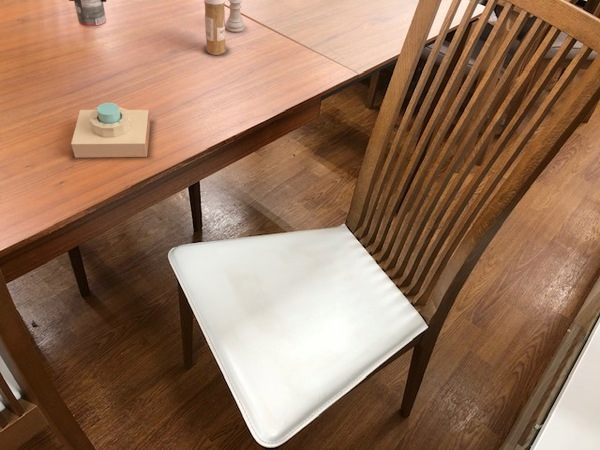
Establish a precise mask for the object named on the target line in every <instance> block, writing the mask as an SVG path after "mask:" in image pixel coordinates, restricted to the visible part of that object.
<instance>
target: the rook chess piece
mask: <svg viewBox="0 0 600 450" xmlns="http://www.w3.org/2000/svg"><path fill="white" fill-rule="evenodd" d="M228 2H229V5H228V7H229V15H228V18H227V20H226V21H225V29H227V31H229V32H231V33H241V32H243V30H244V29H245V26H244V25H245V23H244V20H243V18H242V15H241V14H242V13H241V8H242V5H241V3H242V2H243V0H228Z"/></svg>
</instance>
